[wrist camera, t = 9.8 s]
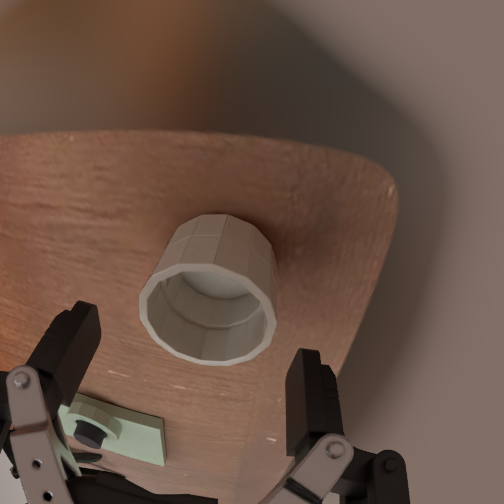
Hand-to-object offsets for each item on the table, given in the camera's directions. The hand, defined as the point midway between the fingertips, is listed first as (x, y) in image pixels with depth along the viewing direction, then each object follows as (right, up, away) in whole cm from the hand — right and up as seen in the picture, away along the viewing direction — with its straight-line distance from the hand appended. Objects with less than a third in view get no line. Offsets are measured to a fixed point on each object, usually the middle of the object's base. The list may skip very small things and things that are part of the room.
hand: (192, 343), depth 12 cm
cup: (+1, +3, +6) cm, 7 cm away
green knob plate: (-16, -17, +19) cm, 31 cm away
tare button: (-15, -15, +15) cm, 26 cm away
